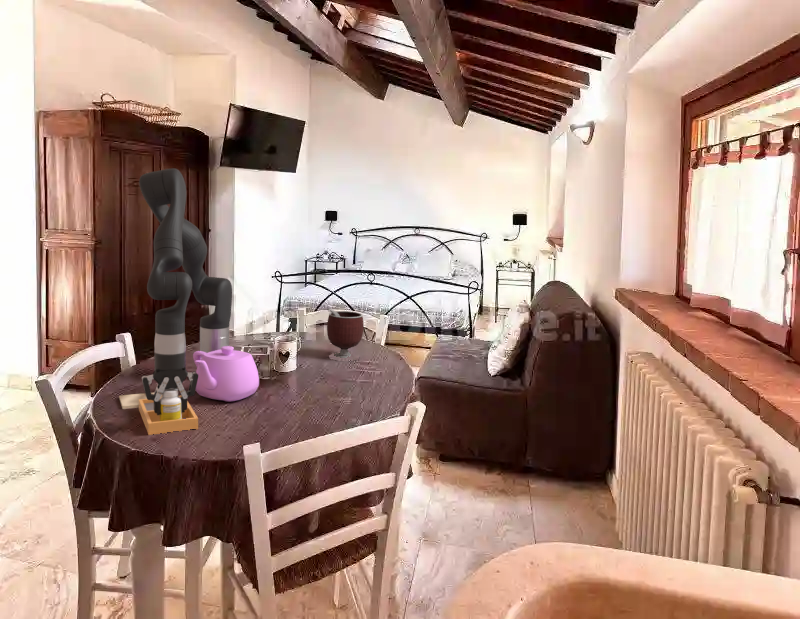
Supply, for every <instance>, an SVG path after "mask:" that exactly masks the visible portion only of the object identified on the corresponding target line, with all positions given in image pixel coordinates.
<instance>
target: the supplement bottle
mask: <svg viewBox="0 0 800 619" xmlns="http://www.w3.org/2000/svg"><path fill="white" fill-rule="evenodd" d="M162 396H163V397H162V398H161V399H160V421H167V420H176V419H182V406H181V398H180V397H179V396H180V395H179V389H178V388H175V389H174V388H170V389H164V391H163V393H162Z"/></svg>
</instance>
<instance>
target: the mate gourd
mask: <svg viewBox="0 0 800 619" xmlns="http://www.w3.org/2000/svg"><path fill="white" fill-rule="evenodd" d="M327 311H329V313H328V318H327V323H326V324H327V325H326V334H327V335H326V336H327V338H328V340H329V342H330V343H331V345H332V346H335V347H337V348H339V349H340V351H339V352H340V353H337V352H335V353H336V354H334V356H336V357H340V358H347V357H348V356H349V357H350V356H351V354H350V353H351V352H350V351H349V349H351V348H354V347H358V345H359V343H361V341H362V338H363V336H364V326H365V325H364V317H363V316H364V315H363V313H360V312H357V311H350V310H349V311H348V310H342V311H341V310H337V311H335V310H334V309H331V308H327Z"/></svg>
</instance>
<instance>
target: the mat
mask: <svg viewBox="0 0 800 619" xmlns="http://www.w3.org/2000/svg"><path fill="white" fill-rule="evenodd" d="M154 393H155V391H154V392H151V394H154ZM161 397H163V396H162V395H161ZM118 399H119V403H120V405H121V409H122V410H126V409H129V410H130V409H135V408H136V409H137V408H138V409H139V399H147V397H146V395H145V392H144V393H135V394H123V395H119V396H118Z"/></svg>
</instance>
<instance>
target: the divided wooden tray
mask: <svg viewBox="0 0 800 619" xmlns="http://www.w3.org/2000/svg"><path fill="white" fill-rule="evenodd" d="M178 396H179V397H180V398H181V397H182V395H181V394H180V395H178ZM161 398H162V397H160V399H161ZM160 399H159V400H160ZM138 411H139V413H140V416H141V419H142V421H143V424H144V426H145V429H146V433H147V434H148V436H152V435H153V434H154V435H160V433H162V434H168V433H167V432H171V433H174V432H173V431H179V432H183V431H182V430H188V431H191V430H190V429H196V430H199V417H198V416H197V413H195V410H194V409H193V407H192V406H191V404H190V403H189V401H188V400H187V410H185V412H183V413H182V419H176V420H167V421H160V415H157V413H155V412H154V401H153V400H148V399H139V408H138ZM183 418H186V419H183ZM154 435H153V436H154Z"/></svg>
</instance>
